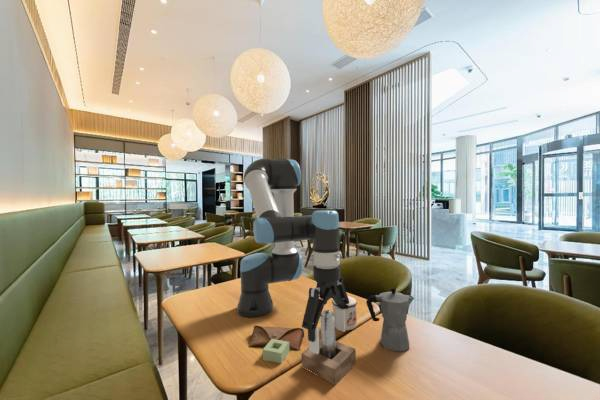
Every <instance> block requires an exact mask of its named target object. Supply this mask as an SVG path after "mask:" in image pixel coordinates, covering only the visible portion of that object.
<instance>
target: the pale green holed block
mask: <svg viewBox="0 0 600 400" xmlns="http://www.w3.org/2000/svg"><path fill="white" fill-rule="evenodd" d="M289 353H290V349H289V342H287V341H282V340H276V339H271V340H270V341H269V343H268V344H267V345H266V346H265V347H263V349H262V359H263V361H267V362H272V363H277V364H283V363H284V360H285V359H286V357H287V356H288V354H289Z"/></svg>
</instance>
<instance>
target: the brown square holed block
mask: <svg viewBox="0 0 600 400" xmlns="http://www.w3.org/2000/svg"><path fill="white" fill-rule="evenodd" d="M335 344H336V356H335V357H334V358H333V359H332V360H331V359H329V358H327V357H325V356H323V355H322V351H321V338H319V353H318V354H316V353H313V352H311V351H309V347H308V348H306V349H304V351H302V352H301V368H302V367H304V368H306V369H308V370H310V371H312V372H313V373H315V374H317V375H318V376H317V375H316V376H317V377H319V376H320V377H319V378H321V377H322V378H324V379H326V380H327V381H326V380H325V381H326V382H328V381H329V382H328V383H330V382H331V383H330V384H332V383H333V384H332V385H333V386H337V385H338V383H339V382H340V381H341V380H342V379H343V378H344V376H346V374H347V373H348V372H349V371H350V370H351V369H352V368H353V367H352V366H355V364H357V356H356V355H357V352H356V348H354V347H352V346H350V345H346V344H344V343H343V342H339V341H337V340H335ZM304 368H303V369H304ZM306 369H305V370H306ZM313 373H312V374H313ZM315 374H314V375H315ZM322 378H321V379H322ZM324 379H323V380H324Z"/></svg>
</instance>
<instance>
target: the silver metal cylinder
mask: <svg viewBox="0 0 600 400" xmlns="http://www.w3.org/2000/svg"><path fill="white" fill-rule="evenodd" d="M320 339H321V351H322V355H323V356H325V357H327V358H329V359H331V360H332V359H333V358H334V357H335V356H336V344H335V341H336V327H335V315H334V314H333V311H332V310H330V309H324V310H322V313H321V316H320Z"/></svg>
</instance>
